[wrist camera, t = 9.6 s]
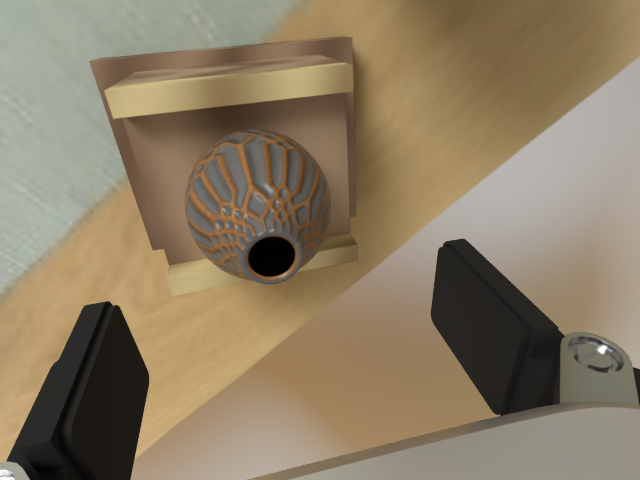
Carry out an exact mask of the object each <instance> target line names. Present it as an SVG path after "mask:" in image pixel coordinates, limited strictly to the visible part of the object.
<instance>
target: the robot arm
mask: <svg viewBox="0 0 640 480" xmlns="http://www.w3.org/2000/svg"><path fill="white" fill-rule="evenodd" d="M431 318H432V321H433V323H434V325H435V327H436V328H437V330H438V331H439V333H440V334H441V336H442V337H443V339H444V340H445V342H446V343H447V344H448V346H449V348H450V349H451V350H452V352H453V353H454V355H455V356H456V358H457V359H458V361H459V362H460V364H461V365H462V367H463V368H464V370H465V371H466V373H467V374H468V376H469V377H470V379H471V380H472V382H473V383H474V385H475V386H476V388H477V389H478V391H479V392H480V394H481V395H482V396H483V398H484V399H485V401H486V402H487V404H488V406H489V407H490V409H491V410H492V411H493V412H494V413H495V414H497V415H499V414H500V415H501V416H499V417H494V418H490V419H486V420H481V421H477V422H473V423H469V424H465V425H461V426H457V427H453V428H450V429H445V430H441V431H437V432H433V433H429V434H425V435H421V436H417V437H413V438H409V439H405V440H401V441H397V442H393V443H389V444H385V445H381V446H377V447H373V448H369V449H365V450H361V451H357V452H353V453H350V454H346V455H342V456H338V457H334V458H330V459H326V460H323V461H318V462H314V463H311V464H306V465H303V466H299V467H295V468H291V469H287V470H283V471H279V472H275V473H272V474H268V475H264V476H260V477H256V478H253V479H248V480H640V369H637V368H634V367H633V366H632V363H631V360H630V358H629V356H628V355H627V354H626V353H625V351H624V350H623V349H622V348H620V347H619V346H618V345H617V344H615V343H614V342H612V341H610V340H608V339H606V338H604V337H602V336H599V335H596V334H592V333H586V332H573V333H570V334H567V335H566V336H564V335H563V334H562V333H561V332H560V331H559V330H558V327H557V326H556V325H555V324H554V323H553V322H552V321H551V320H550V319H549V318H548V317H547V316H546V315H545V314H544V313H543V312H542V311H541V310H539V309H538V308H537V307H536V306H535V305H534V304H533V303H532V302H531V301H530V300H529V299H528V298H527V297H526V296H525V295H524V294H523V293H522V292H520V291H519V290H518V289H517V288H516V287H515V286H514V285H513V284H512V283H511V282H510V281H509V280H508V279H507V278H506V277H505V276H504V275H502V274H501V273H500V272H499V271H498V270H497V269H496V268H495V267H494V266H493V265H492V264H491V263H490V262H489V261H488V260H487V259H486V258H485V257H484V256H483V255H481V254H480V253H479V252H478V251H477V250H476V249H475V248H474V247H473V246H472V245H471V244H470V243H469V242H468V241H466V240H465V239H458V240H452V241H446V242H445V243H444V244H443V247H440V248H439V250H438V256H437V265H436V274H435V282H434V291H433V300H432V308H431ZM148 387H149V374H148V370H147V368H146V366H145V363H144V361H143V359H142V357H141V354H140V352H139V350H138V347H137V345H136V343H135V341H134V338H133V336H132V334H131V332H130V329H129V327H128V325H127V322H126V320H125V318H124V316H123V313H122V311H121V309H120V307H119V306H118V305H115V306H113V305H112V304H111V303H110V302H108V301H107V302H101V303H96V304H90V305H86V306H84V308H83V309H82V311H81V313H80V315H79V318H78V320H77V322H76V324H75V326H74V328H73V330H72V333H71V335H70V337H69V339H68V341H67V343H66V346H65V348H64V350H63V352H62V354H61V356H60V358H59V360H58V361H57V362H55V363H54V364H53V366H52V367H51V369H50V371H49V373H48V375H47V377H46V379H45V381H44V384H43V386H42V388H41V390H40V392H39V394H38V396H37V398H36V400H35V402H34V405H33V407H32V409H31V411H30V413H29V415H28V417H27V419H26V421H25V423H24V425H23V428H22V430H21V432H20V434H19V436H18V438H17V440H16V442H15V444H14V446H13V448H12V451H11V453H10V455H9V457H8V459H7V461H6V462H1V463H0V480H130V478H131V473H132V468H133V463H134V458H135V453H136V448H137V443H138V438H139V433H140V427H141V422H142V417H143V412H144V407H145V402H146V397H147V392H148Z"/></svg>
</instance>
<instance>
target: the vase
mask: <svg viewBox="0 0 640 480" xmlns="http://www.w3.org/2000/svg"><path fill="white" fill-rule="evenodd" d="M185 213H186V219H187V223H188V226H189V229H190V232H191V234H192V237H193V239H194V240H195V242H196V244H197V246H198V247H199V249H200V250H201V251H202V253H203V254H204V255H205V256H206V257H207V258H208V260H210V261H211V262H212V263H213V264H214V265H215V266H217V267H218V268H219V269H221V270H222V271H224V272H226V273H228V274H230V275H233V276H235V277H238V278H241V279H245V280H251V281H256V282H259V283H263V284H276V283H280V282H283V281H285V280H287V279H289V278H290V277H292V276H293V275H294V274H295V273H296V272H297V271H298V270H299V269H301V268H302V267H303V266H305V265H306V264H307V263H308V262H309V261H310V260H311V259H312V258H313V257H314V256H315V255H316V253H317V252H318V251H319V249H320V248H321V246H322V244H323V242H324V240H325V238H326V235H327V232H328V229H329V225H330V219H331V196H330V190H329V187H328V183H327V180H326V177H325V175H324V173H323V171H322V170H321V168H320V166H319V164H318V163H317V162H316V160H315V159H314V158H313V157H312V155H311V154H310V153H309V152H308V151H307V150H306V149H305V148H304V147H303V146H301V145H300V144H299V143H297V142H296V141H295V140H293V139H291V138H290V137H288V136H286V135H283V134H281V133H278V132H274V131H270V130H264V129H247V130H241V131H237V132H234V133H231V134H228V135H226V136H224V137H222V138H220V139H219V140H217V141H216V142H214V143H213V144H212V145H210V146H209V147H208V148H207V149H206V150H205V151H204V152H203V153H202V155H201V156H200V157H199V159H198V160H197V162H196V163H195V165H194V167H193V169H192V171H191V174H190V176H189V179H188V183H187V187H186V193H185Z"/></svg>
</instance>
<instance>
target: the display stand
mask: <svg viewBox="0 0 640 480" xmlns="http://www.w3.org/2000/svg"><path fill="white" fill-rule="evenodd" d="M89 62H90V65H91V68H92V71H93V74H94V77H95V80H96V83H97V86H98V89H99V92H100V95H101V98H102V101H103V104H104V107H105V110H106V112H107V115H108V118H109V121H110V124H111V127H112V130H113V133H114V136H115V139H116V142H117V145H118V148H119V151H120V154H121V157H122V160H123V163H124V166H125V169H126V172H127V175H128V178H129V181H130V184H131V187H132V190H133V193H134V196H135V199H136V202H137V205H138V208H139V210H140V213H141V216H142V219H143V222H144V225H145V228H146V231H147V234H148V237H149V240H150V243H151V246H152V249H153V250H158V249H164V251H165V254H166V257H167V260H168V263H169V269H168V274H167V279H166V280H167V283H168V286H169V289H170V292H171V295H172V296H174V295H179V294H185V293H190V292H195V291H201V290H206V289H211V288H217V287H222V286H227V285H232V284H238V283H243V282H248V281H251V280H245V279H241V278H238V277H235V276H233V275H230V274H228V273H226V272H224V271H222V270H221V269H219V268H218V267H217V266H215V265H214V264H213V263H212V262H211V261H210V260H208V258H207V257H206V256H205V255H204V254H203V253H202V251H201V250H200V249H199V247H198V246H197V244H196V242H195V240H194V239H193V237H192V234H191V232H190V229H189V226H188V223H187V219H186V213H185V193H186V187H187V183H188V179H189V176H190V174H191V171H192V169H193V167H194V165H195V163H196V162H197V160H198V159H199V157H200V156H201V155H202V153H203V152H204V151H205V150H206V149H207V148H208V147H209V146H210V145H212V144H213V143H214V142H216V141H217V140H219V139H220V138H222V137H224V136H226V135H228V134H231V133H234V132H237V131H241V130H247V129H264V130H270V131H274V132H278V133H281V134H283V135H286V136H288V137H290V138H291V139H293V140H295V141H296V142H297V143H299V144H300V145H301V146H303V147H304V148H305V149H306V150H307V151H308V152H309V153H310V154H311V155H312V157H313V158H314V159H315V160H316V162H317V163H318V164H319V166H320V168H321V170H322V171H323V173H324V175H325V177H326V180H327V183H328V187H329V190H330V196H331V219H330V225H329V229H328V232H327V235H326V238H325V240H324V242H323V244H322V246H321V248H320V249H319V251H318V252H317V253H316V255H315V256H314V257H313V258H312V259H311V260H310V261H309V262H308V263H307V264H306V265H305V266H303V267H302V268H301V269H299V270H298V271H297V272H301V271H307V270H312V269H317V268H322V267H328V266H333V265H338V264H344V263H349V262H354V261H358V256H357V244H356V242H355V240H354V239H353V237H352V236H351V234H350V217H353V216H356V180H355V137H354V93H353V91H354V80H353V50H352V37H334V38H322V39H311V40H300V41H289V42H278V43H267V44H255V45H244V46H233V47H222V48H211V49H199V50H188V51H177V52H166V53H155V54H144V55H132V56H121V57H110V58H99V59H95V60H92V61H89Z"/></svg>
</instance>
